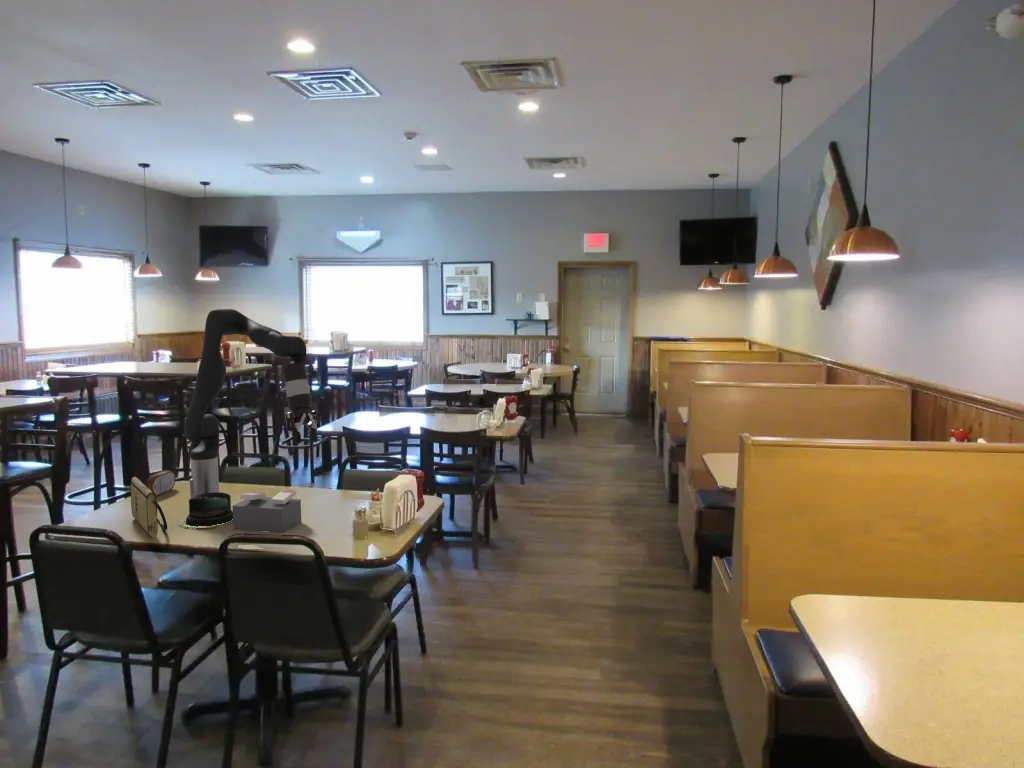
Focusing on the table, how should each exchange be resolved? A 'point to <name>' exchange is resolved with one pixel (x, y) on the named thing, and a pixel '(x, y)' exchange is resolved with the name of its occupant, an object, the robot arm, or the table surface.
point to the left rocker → (253, 496)
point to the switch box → (266, 515)
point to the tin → (161, 482)
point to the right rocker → (283, 496)
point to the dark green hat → (209, 509)
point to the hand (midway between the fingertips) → (306, 442)
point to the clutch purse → (145, 507)
